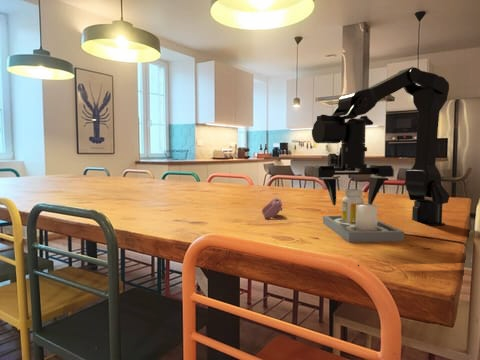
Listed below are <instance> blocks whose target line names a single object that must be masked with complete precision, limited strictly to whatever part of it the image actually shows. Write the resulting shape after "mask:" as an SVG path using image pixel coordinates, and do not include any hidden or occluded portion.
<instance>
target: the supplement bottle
mask: <svg viewBox="0 0 480 360" xmlns="http://www.w3.org/2000/svg"><path fill="white" fill-rule="evenodd" d="M344 192H345V194H344V195H345V197H343V198H342V200H341V216H342V223H348V224H356V204H365V200H364V198H363V197H361V196H362V194H363V190H362V189H359V188H347V189H345V190H344Z"/></svg>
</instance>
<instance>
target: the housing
mask: <svg viewBox="0 0 480 360" xmlns="http://www.w3.org/2000/svg"><path fill="white" fill-rule="evenodd" d="M322 224H323V225H325V226H326V227H327V228H328V229H330V230H331V231H332V232H334V233H335V234H337V235H338V236H340V237H341V238H342V239H343V240H345V241H347V242H348V243H373V242H374V243H376V242H377V243H381V242H384V243H386V242H390V243H391V242H405V231H403V230H401V229H399V228H397V227H394V226H392V225H389V224H387V223H386V222H383V221H381V220H379V219H377V231H356V224H348V223H342V215H323V216H322Z"/></svg>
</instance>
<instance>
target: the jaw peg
mask: <svg viewBox="0 0 480 360" xmlns="http://www.w3.org/2000/svg"><path fill="white" fill-rule="evenodd" d="M378 206H379V205H377V204H374V203H372V204H368V203H364V204H356V231H377V220H378V208H379V207H378Z"/></svg>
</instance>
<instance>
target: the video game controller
mask: <svg viewBox="0 0 480 360" xmlns="http://www.w3.org/2000/svg"><path fill="white" fill-rule="evenodd" d="M261 209H262V210H261V213H262V214H263V218H264V219H267V220H268V219H272V218H276V216H277V215H278V214H279V213H280V212H282V211H283V203H282V200H281V199H280V198H278V197H274V198H272V200H270V202H269V203H268V204H266V205H265V206H264V207H262V208H261Z"/></svg>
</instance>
